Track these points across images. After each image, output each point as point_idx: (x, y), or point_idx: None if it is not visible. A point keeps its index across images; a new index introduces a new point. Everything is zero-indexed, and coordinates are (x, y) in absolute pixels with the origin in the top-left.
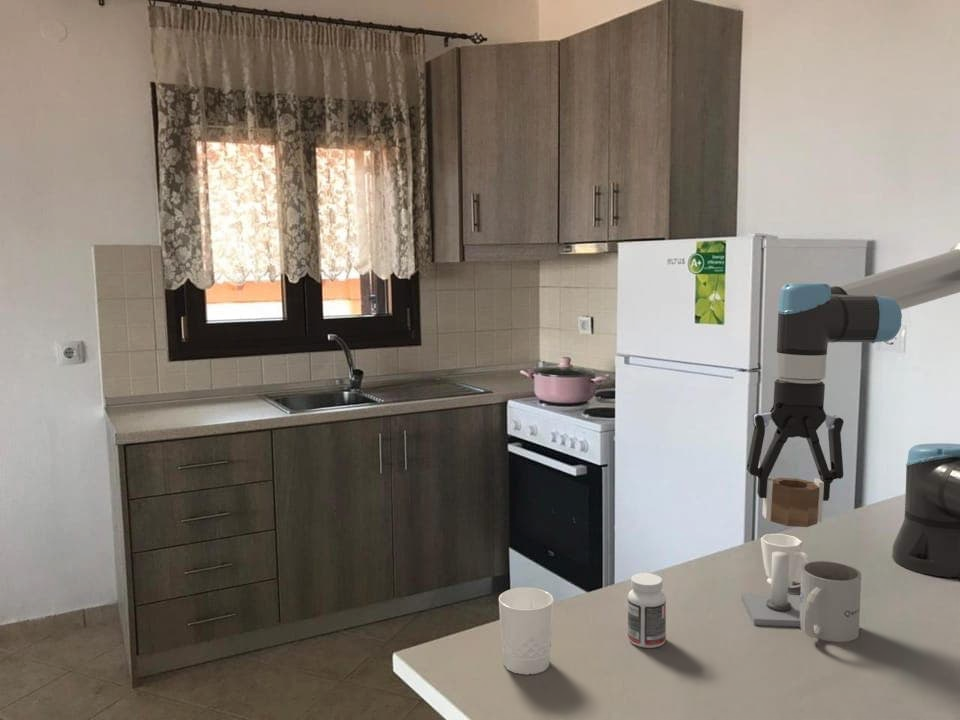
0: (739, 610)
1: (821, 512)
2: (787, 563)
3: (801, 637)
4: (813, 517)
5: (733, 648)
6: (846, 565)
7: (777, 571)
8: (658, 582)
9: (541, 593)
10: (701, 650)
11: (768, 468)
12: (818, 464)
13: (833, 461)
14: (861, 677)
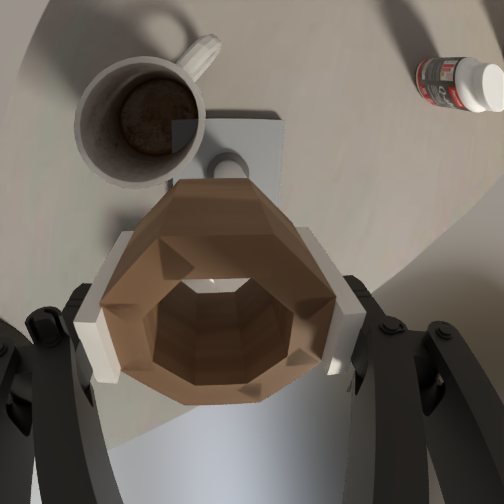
0: (290, 174)
1: (115, 246)
2: None
3: (213, 79)
4: (149, 215)
5: (332, 44)
6: (93, 164)
7: (244, 177)
8: (487, 69)
9: None
10: (375, 44)
11: (393, 361)
12: (78, 412)
13: (4, 421)
14: None
